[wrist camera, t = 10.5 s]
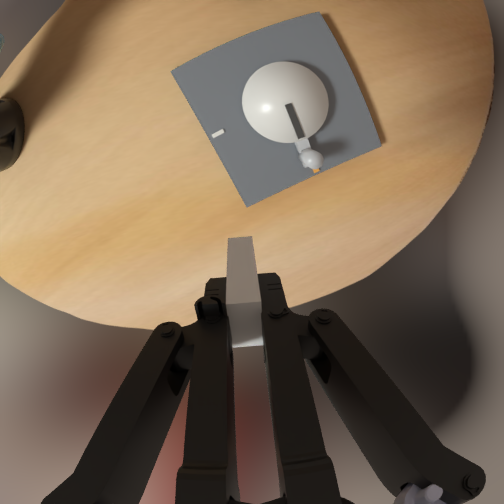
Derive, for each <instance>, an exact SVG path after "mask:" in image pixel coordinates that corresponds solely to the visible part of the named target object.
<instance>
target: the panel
mask: <svg viewBox="0 0 504 504" xmlns="http://www.w3.org/2000/svg"><path fill="white" fill-rule="evenodd" d="M274 62H293V63H297V64H300V65H302V66H304V67H306V68H308V69H310V70H311V71H312V72H314V73H315V74H316V75H317V76H318V78H319V79H320V80H321V81H322V83H323V85H324V87H325V89H326V91H327V95H328V101H329V107H328V113H327V117H326V119H325V121H324V123H323V125H322V126H321V127H320V129H319V130H318V131H317V132H316V133H315V134H313V135H312V136H310V137H309V138H308V141H309V143H310V146H311V149H312V150H315V151H317V152H319V153H320V154H321V155H322V156H323V158H324V162H323V165H322V166H321V167H320V168H319V169H311V168H309V167H306V168H305V167H304V166H303V164H302V162H301V161H300V160H299V159H298V150H297V148H296V145H295V142H294V143H281V142H276V141H273V140H270V139H268V138H266V137H264V136H262V135H261V134H259V133H258V132H257V131H255V130H254V129H253V127H252V126H251V125H250V124H249V122H248V121H247V119H246V117H245V114H244V112H243V107H242V95H243V91H244V88H245V85H246V83H247V81H248V80H249V78H250V77H251V76H252V75H253V74H254V73H255V72H256V71H257V70H258V69H260V68H261V67H263V66H265V65H268V64H270V63H274ZM171 73H172V75H173V77H174V78H175V80H176V82H177V84H178V85H179V87H180V89H181V90H182V92H183V94H184V96H185V97H186V99H187V101H188V103H189V104H190V106H191V108H192V110H193V111H194V113H195V115H196V117H197V118H198V120H199V122H200V124H201V126H202V127H203V129H204V131H205V133H206V134H207V136H208V138H209V140H210V142H211V143H212V145H213V147H214V149H215V150H216V152H217V154H218V156H219V158H220V159H221V161H222V163H223V165H224V167H225V168H226V170H227V172H228V174H229V176H230V178H231V179H232V181H233V183H234V185H235V187H236V188H237V190H238V192H239V194H240V196H241V198H242V199H243V201H244V203H245V205H246V207H249V206H251V205H253V204H255V203H257V202H259V201H261V200H263V199H265V198H267V197H269V196H272V195H274V194H276V193H278V192H280V191H282V190H284V189H286V188H288V187H290V186H293V185H295V184H297V183H299V182H301V181H303V180H306V179H308V178H310V177H312V176H314V175H316V174H319V173H321V172H323V171H325V170H328V169H330V168H332V167H334V166H337V165H339V164H341V163H343V162H346V161H348V160H350V159H353V158H355V157H357V156H360V155H362V154H364V153H367V152H369V151H371V150H374V149H376V148H378V147H381V143H380V140H379V137H378V134H377V131H376V128H375V125H374V123H373V120H372V117H371V115H370V112H369V110H368V107H367V105H366V102H365V100H364V97H363V95H362V93H361V90H360V88H359V86H358V84H357V81H356V79H355V77H354V75H353V73H352V71H351V68H350V66H349V64H348V62H347V60H346V58H345V56H344V54H343V52H342V50H341V49H340V47H339V45H338V43H337V41H336V39H335V37H334V36H333V34H332V32H331V30H330V29H329V27H328V25H327V24H326V22H325V20H324V19H323V17H322V15H321V14H320V12H316V13H311V14H307V15H304V16H300V17H296V18H293V19H289V20H286V21H283V22H280V23H277V24H274V25H271V26H268V27H265V28H262V29H259V30H257V31H254V32H251V33H249V34H246V35H244V36H241V37H239V38H236V39H234V40H232V41H229V42H227V43H225V44H223V45H220V46H218V47H216V48H214V49H212V50H210V51H208V52H206V53H204V54H202V55H200V56H198V57H196V58H194V59H192V60H190V61H188V62H186V63H184V64H183V65H181V66H179V67H177V68H176V69H174V70H172V71H171Z"/></svg>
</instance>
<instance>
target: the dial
mask: <svg viewBox="0 0 504 504" xmlns="http://www.w3.org/2000/svg"><path fill="white" fill-rule="evenodd" d="M242 107H243V112H244V114H245V117H246V119H247V121H248V122H249V124H250V125H251V126H252V127H253V129H254V130H255V131H257V132H258V133H259V134H261V135H262V136H264V137H266V138H268V139H270V140H273V141H276V142H281V143H294V142H295V145H296V148H297V150H298V159H299V160H300V161H301V162H302V164H303V166H304V167H305V168H306V167H309V168H311V169H319V168H320V167H321V166H322V165H323V162H324V158H323V156H322V155H321V154H320V153H319V152H317V151H315V150H312V149H311V146H310V143H309V141H308V138H309V137H310V136H312V135H313V134H315V133H316V132H317V131H318V130H319V129H320V127H321V126H322V125H323V123H324V121H325V119H326V117H327V113H328V107H329V101H328V95H327V91H326V89H325V87H324V85H323V83H322V81H321V80H320V79H319V78H318V76H317V75H316V74H315V73H314V72H312V71H311V70H310V69H308V68H306V67H304V66H302V65H300V64H297V63H293V62H274V63H270V64H268V65H265V66H263V67H261V68H260V69H258V70H257V71H256V72H255V73H254V74H253V75H252V76H251V77H250V78H249V80H248V81H247V83H246V85H245V88H244V91H243V95H242Z"/></svg>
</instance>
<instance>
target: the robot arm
mask: <svg viewBox="0 0 504 504" xmlns="http://www.w3.org/2000/svg"><path fill="white" fill-rule="evenodd" d="M3 45H4V37H3V35H2V34H0V52H1V50H2V47H3ZM23 138H24V119H23V114H22V111H21V108H20V106H19V105H18V103H17V102H16V101H14V100H13V99H10V98H5V99H0V172H1V171H3V170H6V169H8V168H9V167H11V166H12V165H13V164H14V162H15V161H16V159H17V158H18V156H19V153H20V151H21V148H22V144H23ZM194 306H195V310H196V314H197V318H198V320H197V321H196V322H195V323H193V324H191V325H188V326H184V327H181V326H180V325H179V324H178V323H175V322H165V323H162V324H160V325H158V326H157V327H156V328H155V329H154V331H153V333H152V334H151V336H150V338H149V339H148V341H147V342H146V344H145V346H144V347H143V349H142V351H141V352H140V354H139V356H138V357H137V359H136V361H135V362H134V364H133V366H132V367H131V369H130V371H129V372H128V374H127V376H126V378H125V379H124V381H123V383H122V384H121V386H120V388H119V390H118V391H117V393H116V395H115V397H114V398H113V400H112V402H111V404H110V406H109V407H108V409H107V411H106V412H105V415H104V416H103V418H102V420H101V421H100V423H99V425H98V427H97V429H96V431H95V433H94V434H93V436H92V438H91V440H90V442H89V444H88V446H87V448H86V449H85V451H84V453H83V455H82V457H81V459H80V461H79V463H78V465H77V467H76V469H75V471H74V473H73V474H72V475H71V476H70V477H68V478H67V479H66V480H65V481H64V482H63V483H62V484H60V485H59V486H58V487H57V488H56V489H55V490H54V491H52V492H51V493H50V494H49V495H48V496H46V497H45V498H44V499H43V501H42V502H41V504H139V502H140V500H141V497H142V495H143V493H144V490H145V488H146V485H147V483H148V480H149V478H150V475H151V473H152V470H153V468H154V465H155V463H156V460H157V458H158V455H159V453H160V450H161V448H162V446H163V443H164V440H165V438H166V436H167V433H168V431H169V429H170V426H171V423H172V421H173V418H174V416H175V414H176V411H177V409H178V406H179V404H180V402H181V399H182V397H183V394H184V392H185V390H186V387H187V385H188V382H189V380H190V387H189V397H188V407H187V419H186V430H185V443H184V458H183V464H182V466H181V467H180V468H179V470H178V472H177V478H176V496H175V504H250V503H244V502H240V493H239V487H238V480H237V456H236V433H235V432H236V431H235V402H234V365H233V364H234V363H233V351H232V347H245V346H257V345H263V346H264V363H265V367H266V375H267V384H268V392H269V400H270V408H271V417H272V425H273V433H274V441H275V449H276V458H277V467H278V475H279V487H280V497H281V498H278V499H275V500H272V501H269V502H265V503H262V504H354V503H353V502H351V501H349V500H347V499H345V498H342V497H340V492H339V488H338V484H337V479H336V474H335V470H334V466H333V463H332V460H331V458H330V457H329V456H328V455H327V453H326V450H325V446H324V442H323V437H322V433H321V428H320V424H319V420H318V416H317V412H316V408H315V403H314V399H313V395H312V391H311V387H310V383H309V378H308V374H307V371H306V367H305V362H304V359H306V362H307V364H308V365H309V367H310V368H311V370H312V372H313V373H314V375H315V377H316V378H317V380H318V382H319V383H320V385H321V386H322V388H323V390H324V391H325V393H326V395H327V396H328V398H329V399H330V401H331V403H332V404H333V406H334V407H335V409H336V411H337V412H338V414H339V416H340V417H341V419H342V421H343V422H344V424H345V425H346V427H347V428H348V430H349V432H350V433H351V435H352V437H353V438H354V440H355V441H356V443H357V444H358V446H359V448H360V449H361V451H362V453H363V454H364V456H365V457H366V459H367V460H368V462H369V464H370V465H371V467H372V468H373V470H374V471H375V473H376V475H377V476H378V478H379V479H380V481H381V482H382V483H383V485H384V486H385V487H386V488H387V489H388V490H389V491H390V492H391V493H392V494H393V495H394V496H395V497H397V498H396V499H395V501H394V504H463V503H465V502H467V501H469V500H472V499H473V498H475V497H476V496H478V495H479V494H480V492H481V491H482V490H483V488H484V485H485V482H486V476H485V473H484V470H483V469H482V468H481V467H479V466H478V465H476V464H474V463H472V462H471V461H469V460H467V459H465V458H464V457H462V456H460V455H458V454H456V453H455V452H453V451H451V450H450V449H448V448H446V447H445V446H443V445H442V443H441V442H440V441H439V439H438V438H437V437H436V435H435V434H434V433H433V432H432V430H431V429H430V428H429V426H428V425H427V424H426V423H425V421H424V420H423V419H422V417H421V416H420V415H419V414H418V412H417V411H416V410H415V409H414V407H413V406H412V405H411V404H410V402H409V401H408V400H407V398H405V396H404V395H403V394H402V392H401V391H400V390H399V389H398V387H397V386H396V385H395V384H394V382H393V381H392V380H391V379H390V377H389V376H388V375H387V374H386V373H385V371H384V370H383V369H382V368H381V366H380V365H379V364H378V363H377V362H376V360H375V359H374V358H373V357H372V356H371V354H370V353H369V352H368V351H367V350H366V348H365V347H364V346H363V345H362V343H361V342H360V341H359V340H358V339H357V338H356V336H355V335H354V334H353V333H352V332H351V331H350V329H349V328H348V327H347V326H346V324H345V323H344V322H343V321H342V320H341V319H340V317H339V316H338V315H337V314H336V313H334V312H333V311H331V310H329V309H317V310H315V311H313V312H312V313H311V314H310V315H309V316H303V315H298V314H295V313H293V312H292V311H291V310H290V308H288V306H287V303H286V299H285V295H284V291H283V287H282V284H281V280H280V277H279V276H278V275H277V274H276V273H263V274H257V268H256V261H255V254H254V247H253V240H252V236H249V237H237V238H228V252H227V277H223V278H210V279H209V281H208V282H207V283H206V287H205V294H204V297H201V298H199V299H198V300H197V301H196V303H195V305H194Z"/></svg>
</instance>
